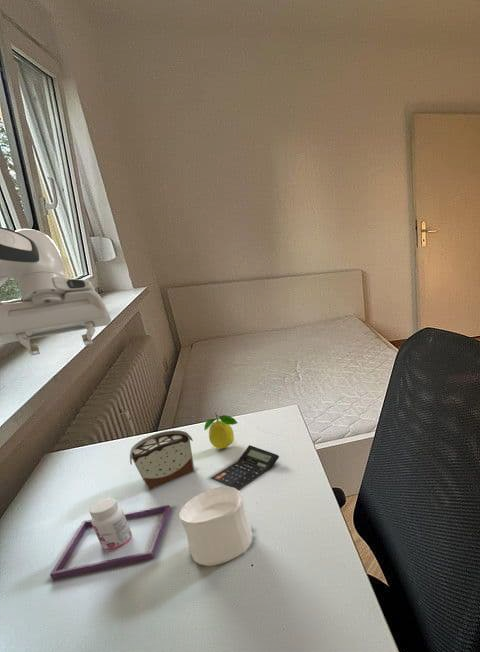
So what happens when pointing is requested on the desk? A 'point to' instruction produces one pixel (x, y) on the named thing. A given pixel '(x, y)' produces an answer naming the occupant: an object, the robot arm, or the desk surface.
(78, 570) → the purple square frame
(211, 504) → the cup
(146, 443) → the food container
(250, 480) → the calculator
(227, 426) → the lemon
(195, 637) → the desk surface
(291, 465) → the desk surface
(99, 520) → the pill bottle
